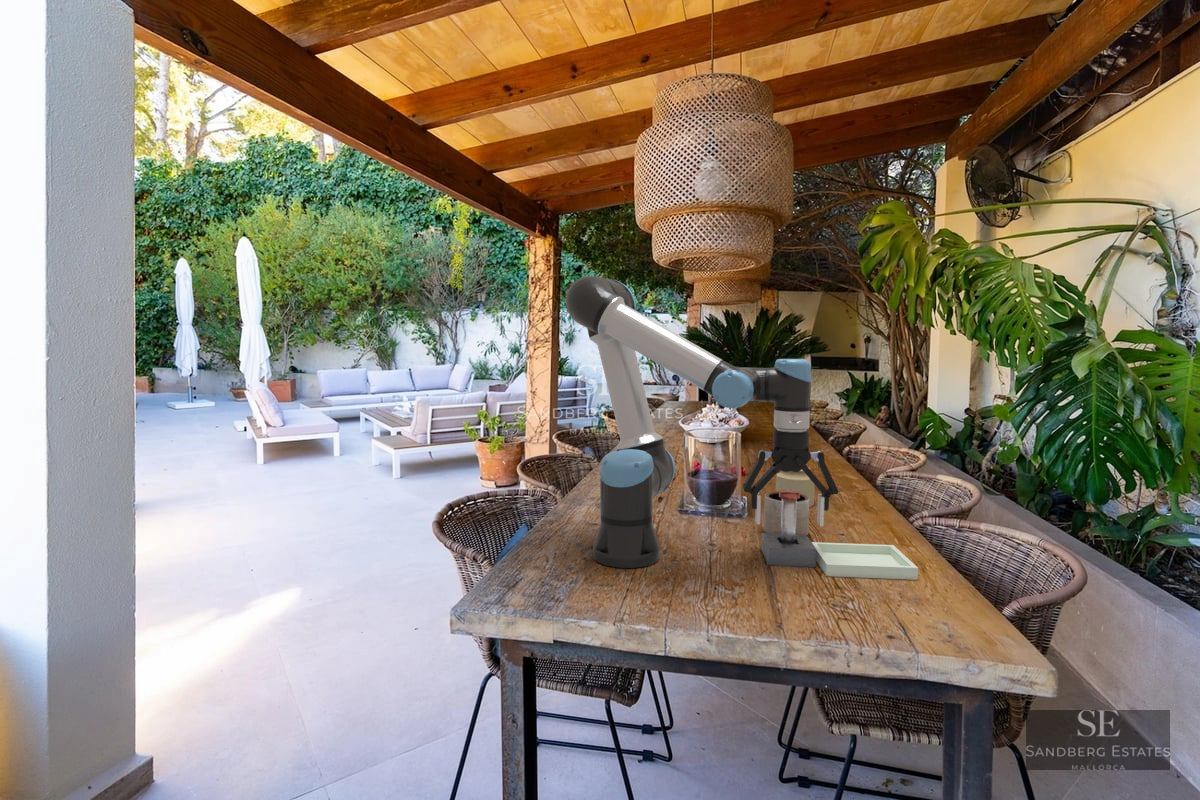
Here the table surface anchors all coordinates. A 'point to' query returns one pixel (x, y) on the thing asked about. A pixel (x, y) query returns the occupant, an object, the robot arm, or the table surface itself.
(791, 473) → the sugar bowl
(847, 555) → the tray
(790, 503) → the red capped tube
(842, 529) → the table surface
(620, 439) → the robot arm
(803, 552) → the block
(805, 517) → the planter
